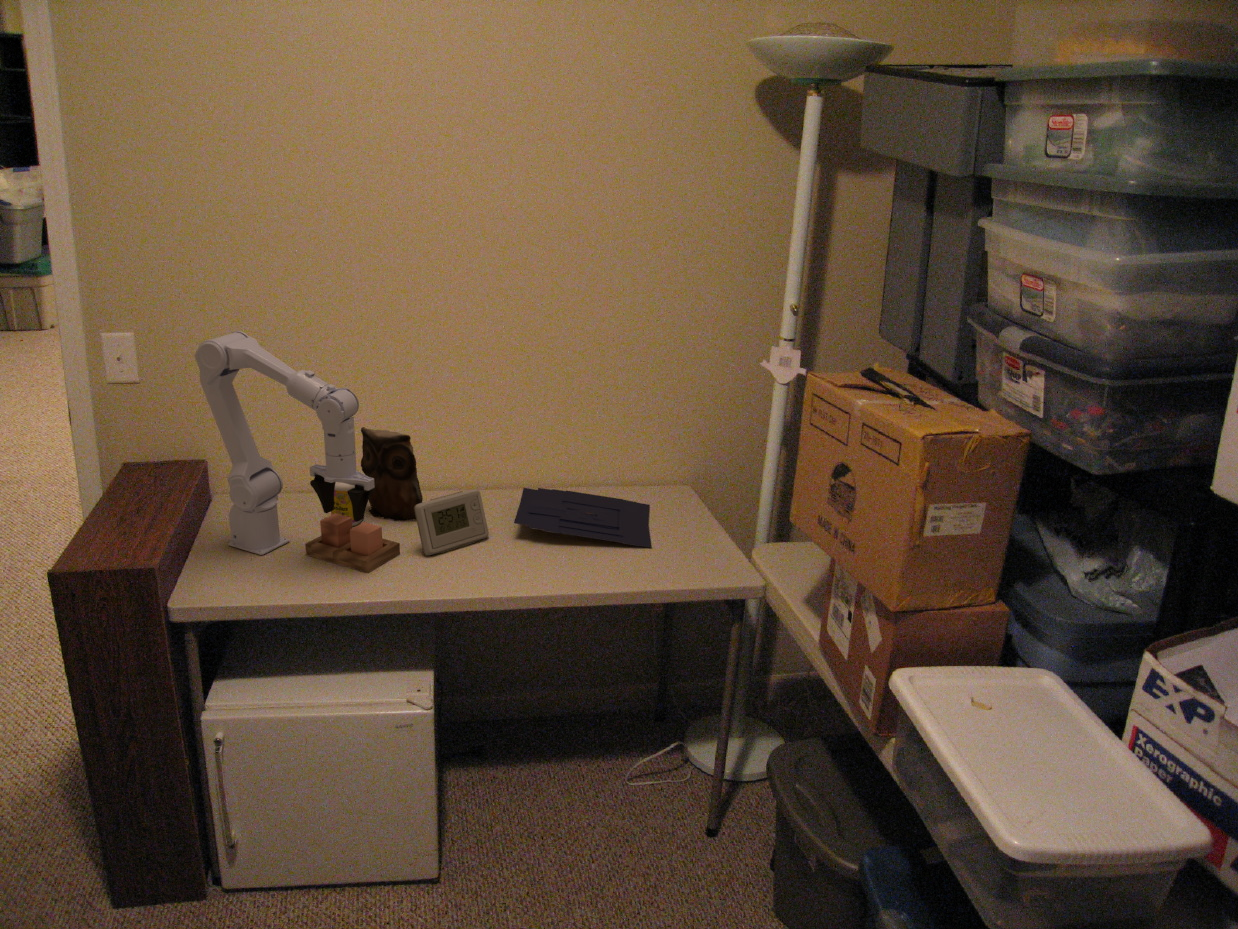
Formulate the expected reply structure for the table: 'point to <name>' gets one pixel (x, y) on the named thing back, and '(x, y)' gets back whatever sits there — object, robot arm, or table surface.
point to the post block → (366, 539)
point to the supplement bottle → (343, 501)
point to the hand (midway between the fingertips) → (343, 515)
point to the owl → (391, 474)
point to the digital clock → (451, 521)
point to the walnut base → (347, 546)
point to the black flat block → (585, 515)
